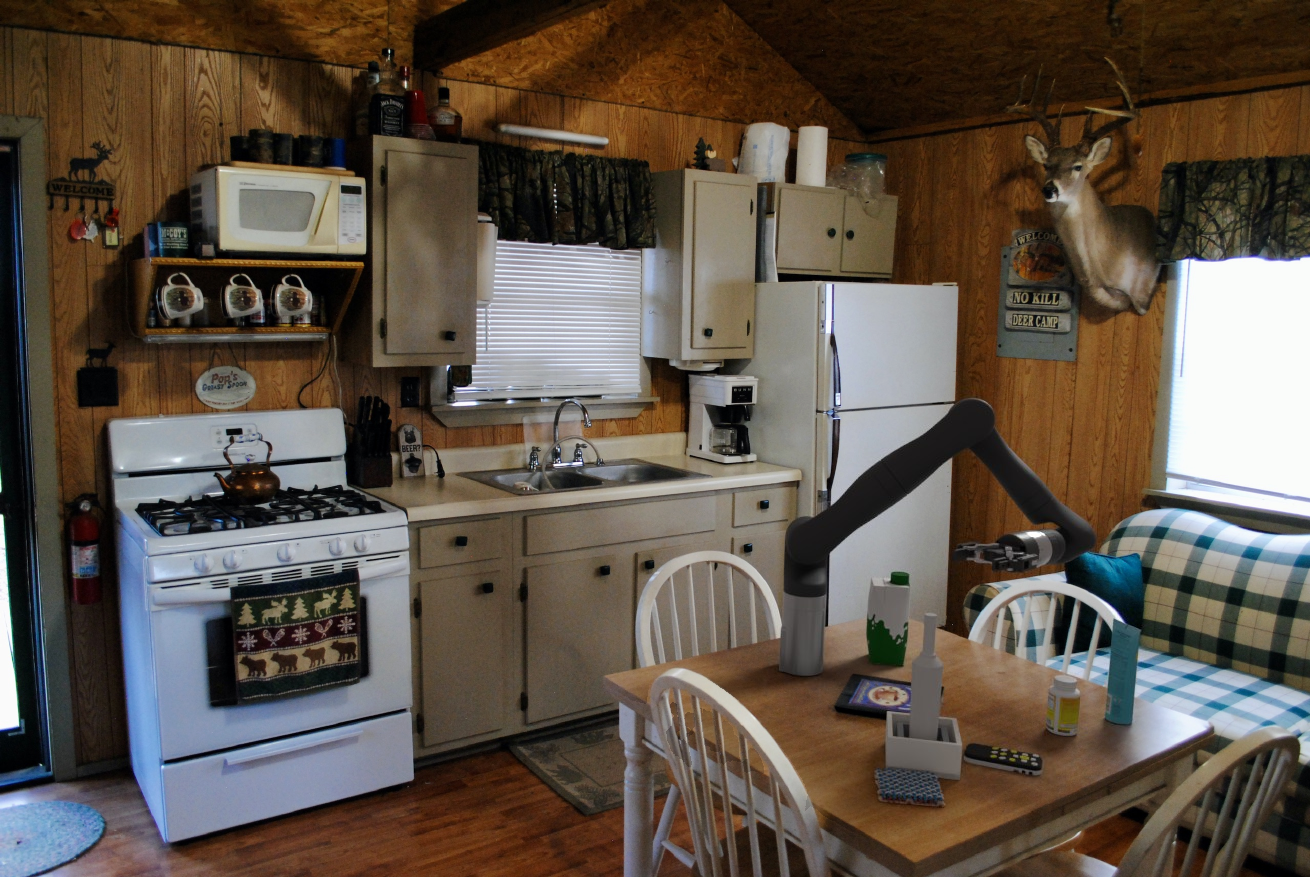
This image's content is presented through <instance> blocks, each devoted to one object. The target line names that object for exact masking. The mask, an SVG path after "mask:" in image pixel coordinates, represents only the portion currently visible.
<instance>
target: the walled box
mask: <svg viewBox="0 0 1310 877" xmlns="http://www.w3.org/2000/svg"><path fill="white" fill-rule="evenodd" d="M885 722H886V723H885V724H886V725H885V739H884V742H885V744H884V745H885V746H884V748H885V772H886V771H887V768H889V769H890V771H891V772H892V770H895V771H897V769H899V771H901V772H902V771H905V772H906V771H907V770H909V771H910V772H911V773H912V771H914V772H917V771H919V772H920V773H921V772H924V775H926V774H927V773H926V771H929V774H931V773H934V775H937V777H938V779H945V780H946V779H947V780H955V781H961V771H962V756H963V754H962V752H963V743H962V742H963V741H962V738H961V734H960V728H959V723H958V719H957V718H955V717H947V716H946V717H945V716H939V721H938V732H937V741H932V740H923V739H914V738H909V727H910V712H899V711H898V712H897V711H889V710H887V711H886V721H885ZM896 773H897V772H896ZM931 775H932V774H931Z"/></svg>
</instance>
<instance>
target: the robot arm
mask: <svg viewBox="0 0 1310 877" xmlns="http://www.w3.org/2000/svg"><path fill="white" fill-rule="evenodd" d="M995 425H996V414H995V411H994V408H993V407H992V405H991V404H989V403H988V402H987V401H985V400H983V399H980V398H975V397H969V398H967V397H966V398H963V399H961V400H959V401H958V402H956V403H954V404H953V405H952V406H951V407H950V408H949V410H948V412H947V413H946V414H945V415H944V416H943V417H942V418H941V419H940V420H938V421H937V422H936V423H935V424H933V426H932V427H930V428H929V429H928V430H927V431H925V432H924V433H923V434H922V435H920V436H917V437H916V438H914V439H913V440H911V441H908V443H906V444H903V445H901V446H900V447H898V448H896V449H895V450H893V451H892V452H889V453H888V454H887V455H885V456H884V457H882V458H881V459H880V460H878V461H876V462H875V463H874V464H873V465H871V466H870V467H868V469H866V470H865V471H863V472H862V473H861V475H859V476H858V477H857V478H856V479H855V480H854V481H853V482H852V484H851V485H850V486H849V487H848V488H847V489H846V490H845V491H844V493H842V495H841V496H839V498H838V499H837V500H836V501H835V502H833V503H832V504H831V505H830V506H829V507H827V508H825V509H824V510H822V511H821V512H820V513H818V514H816V515H815V516H808V515H804V516H800V517H797V518H795V519H793V520H792V521H791V522H790V523H789V525H788V527H787V528H786V531H785V535H784V550H783V551H784V554H783V594H782V615H781V616H782V618H781V626H780V638H779V640H780V641H779V659H778V660H779V661H778V671H779V672H783V673H785V674H789V675H794V676H801V677H803V676H804V677H810V676H811V677H812V676H816V675H820V674H821V673H822V672H823V670H824V668H823V667H824V651H825V650H824V649H825V634H826V633H825V631H826V615H827V614H826V610H827V595H828V594H827V593H828V592H827V590H828V576H827V575H828V574H827V569H828V568H827V567H828V564H827V562H828V556H829V555H830V554H831V553H832V552H833V551H834V550H835V549H837V547H838V546H840V544H842V543H843V542H844V541H845V540H846V539H847V538H848V537H850V535H852V534H853V533H854V532H856V531H857V530H859V529H860V528H861V527H863V526H865V525H867V524H868V523H869V522H871V521H873V520H874V519H875V518H877V517H879V516H880V515H881V514H883V513H884V512H886V511H887V510H889V509H890V508H892V507H893V506H895V505H896V504H897V503H898V502H900V501H902V500H903V499H904V498H905V497H907V496H908V495H909V494H911V493H912V492H914V491H915V490H916V489H917V488H918V487H920V485H922V484H923V483H924V482H925V481H927V479H929V477H931V476H932V475H933V474H934V473H935V472H936V471H937V470H938V469H940V467H941V466H943V465H944V464H945V463H946V462H948V461H950V459H952V458H953V457H955V456H957V455H959V454H960V453H962V452H963V451H965V450H969V451H970V452H971V453H973V455H975V457H976V458H978V460H980V462H981V463H982V464H983V465H984V466H985V467H986V468H987V469H988V471H989V472H990V473H991V474H992V475H993V477H994V478H995V479H996V480H997V482H998V483H999V484H1000V486H1001V487H1002V489H1003V490H1004V491H1005V492H1006V493H1007V495H1008V496H1009V497H1010V498H1011V500H1012V501H1013V502H1014V504H1015V505H1016V506H1017V507H1018V509H1019V510H1020V511H1021V512H1022V514H1023V515H1024V516H1025V517H1026V518H1027V520H1028V521H1029V522H1030V523H1031V524H1033V525H1034V526H1038V525H1039V526H1040V525H1043V524H1048V523H1050V524H1051V523H1052V524H1054V525H1056V528H1054V529H1052V528H1039V529H1034V530H1031V529H1030V530H1022V531H1017V532H1015V531H1014V532H1010V533H1006V534H1002V535H1001V536H999V537H998V538H997V539H996V541H995V542H994V543H993V542H991V543H987V544H986V543H980V541H978V540H977V541H970V542H969V541H968V542H964V543H963V542H962V543H958V544H957V545H956V549H953V551H951V552H952V553H951V560H952V561H951V562H955V563H959V562H963V561H974V562H975V563H977V564H990V565H991V571H992V572H995V573H997V572H1002V571H1004V572H1007V573H1011V574H1015V573H1021V574H1022V573H1025V572H1028V571H1032V570H1035V569H1037V568H1039V567H1043V566H1045V565H1054V566H1060V565H1063V564H1067V563H1069V562H1071V561H1073V560H1075V559H1077V558H1078V557H1081V556H1082V555H1084V554H1086V553H1088V552H1090V551H1091V550H1093V549H1094V548H1095V547H1096V545H1097V534H1096V532H1095V530H1094V529H1093V527H1092V526H1091V524H1090V523H1089V522H1088V521H1086V520H1085V519H1084V518H1083V517H1081V516H1080V515H1078V514H1077V513H1076V512H1074V511H1073V510H1071V509H1070V507H1067V505H1065V504H1063V503H1062V502H1061V501H1060V500H1059V499H1057V497H1056V496H1055V495H1054V494H1053V492H1052V491H1051V490H1050V489H1049V488H1048V486H1047V485H1046V484H1045V483H1044V481H1042V479H1041V478H1040V477H1039V476H1038V475H1037V474H1036V472H1034V470H1032V469H1031V468H1030V467H1029V466H1028V465H1027V464H1026V463H1025V462H1024V461H1023V460H1022V459H1021V458H1020V457H1019V456H1018V455H1017V454H1016V453H1015V452H1014V451H1013V450H1012V449H1011V448H1010V446H1009V445H1008V444H1007V442H1006V441H1005V439H1003V437H1002V436H1001V434H1000V432H999V431H998V429H997V428H996V426H995ZM981 554H982V556H983V557H982V558H981Z"/></svg>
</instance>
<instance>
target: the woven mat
mask: <svg viewBox="0 0 1310 877" xmlns="http://www.w3.org/2000/svg"><path fill="white" fill-rule="evenodd" d="M896 772H897V773H896ZM926 773H927V774H926V775H924V772H921V773H920V772H919V771H917V772H914V771H912V773H911V772H910V771H909V770H907V771H906V772H905V771H902V772H901V771H899V769H897V771H895V770H892V772H891V771H890V769H889V768H887V771H886V768H882V770H881V767H880V766H877V770H874V774H873V776H874V779H875V780H874V783H875V784H876V785H877V789H878V790H877V791H876V793H877V799H878V801H880V802H881V803H882V802H884V803H888V804H889V803H895V804H903V805H904V804H906V805H916V806H927V807H928V806H930V807H939V808H943V807H945V806H946V803H945V802H944V800H945V797H944V794H943V793H942V792H943V790H942V787H941V785H940V781H938V780H939V778H938V777H937V775H934V773H931V774H932V775H931V774H929V771H926Z"/></svg>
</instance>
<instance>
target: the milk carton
mask: <svg viewBox="0 0 1310 877" xmlns="http://www.w3.org/2000/svg"><path fill="white" fill-rule="evenodd" d="M910 590H911V587H910V573H908V572H905V571H892V572H891V573H890V577H873V576H872V577H870V585H869V591H868V598H867V612H866V613H867V614H866V628H865V629H866V631H865V633H866V634H865V637H866V643H867V644H866V645H867V649H868V650H867V651H868V656H869V657H868V658H869V661H870V664H871V665H872V664H873V665H884V666H885V665H887V666H901V667H903V666H904V665H905V660H906V659H905V658H906V652H907V646H908V638H909V623H910V622H909V621H910V606H911V605H910V602H911V601H910V600H911V599H910V596H911V595H910V594H911V593H910V592H911V591H910Z"/></svg>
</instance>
